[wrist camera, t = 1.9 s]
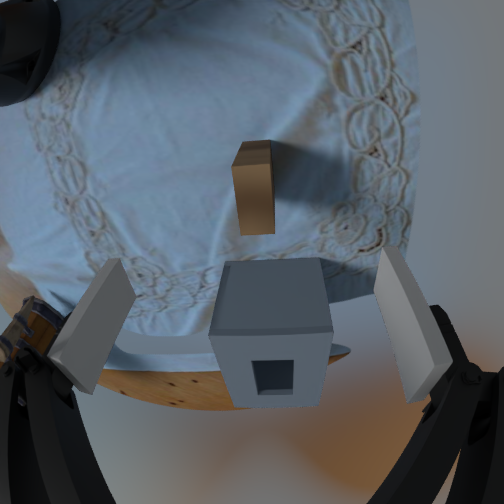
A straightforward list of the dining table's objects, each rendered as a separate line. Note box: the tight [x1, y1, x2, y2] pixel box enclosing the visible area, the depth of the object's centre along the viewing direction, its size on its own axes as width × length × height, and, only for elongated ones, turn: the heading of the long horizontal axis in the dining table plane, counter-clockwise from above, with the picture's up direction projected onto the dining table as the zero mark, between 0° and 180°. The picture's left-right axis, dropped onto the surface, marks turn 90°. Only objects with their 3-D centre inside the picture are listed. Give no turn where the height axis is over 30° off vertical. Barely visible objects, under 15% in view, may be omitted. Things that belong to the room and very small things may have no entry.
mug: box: [0, 296, 64, 406], centre depth 36 cm, size 19×14×20 cm
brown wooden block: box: [231, 140, 275, 236], centre depth 23 cm, size 6×3×8 cm, turn 6°
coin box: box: [208, 258, 334, 408], centre depth 33 cm, size 16×11×11 cm
